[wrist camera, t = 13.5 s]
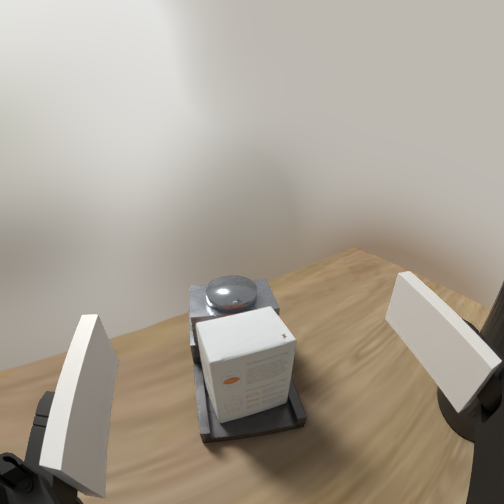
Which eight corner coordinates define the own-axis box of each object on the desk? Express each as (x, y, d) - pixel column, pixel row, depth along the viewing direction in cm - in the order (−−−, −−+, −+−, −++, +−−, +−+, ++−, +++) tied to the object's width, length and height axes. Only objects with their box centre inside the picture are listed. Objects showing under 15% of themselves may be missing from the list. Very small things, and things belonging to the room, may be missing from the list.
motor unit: (266, 328, 42) (269, 269, 37) (303, 426, 26) (320, 370, 22) (193, 336, 40) (184, 277, 35) (202, 442, 24) (187, 389, 20)
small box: (267, 371, 33) (272, 304, 28) (287, 404, 28) (299, 338, 24) (204, 387, 30) (194, 320, 26) (218, 425, 26) (208, 362, 21)
